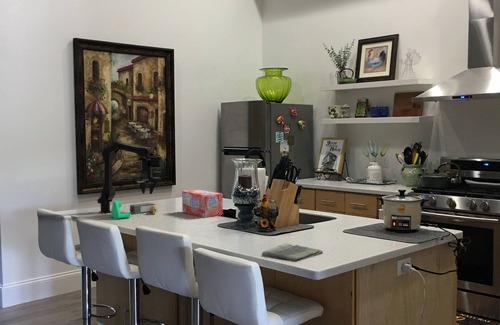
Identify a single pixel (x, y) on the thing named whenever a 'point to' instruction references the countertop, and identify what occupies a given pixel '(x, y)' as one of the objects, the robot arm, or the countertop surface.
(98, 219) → the countertop surface
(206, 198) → the box
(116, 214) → the camera mount
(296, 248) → the dish towel
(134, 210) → the housing
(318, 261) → the countertop surface
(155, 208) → the door
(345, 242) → the countertop surface
